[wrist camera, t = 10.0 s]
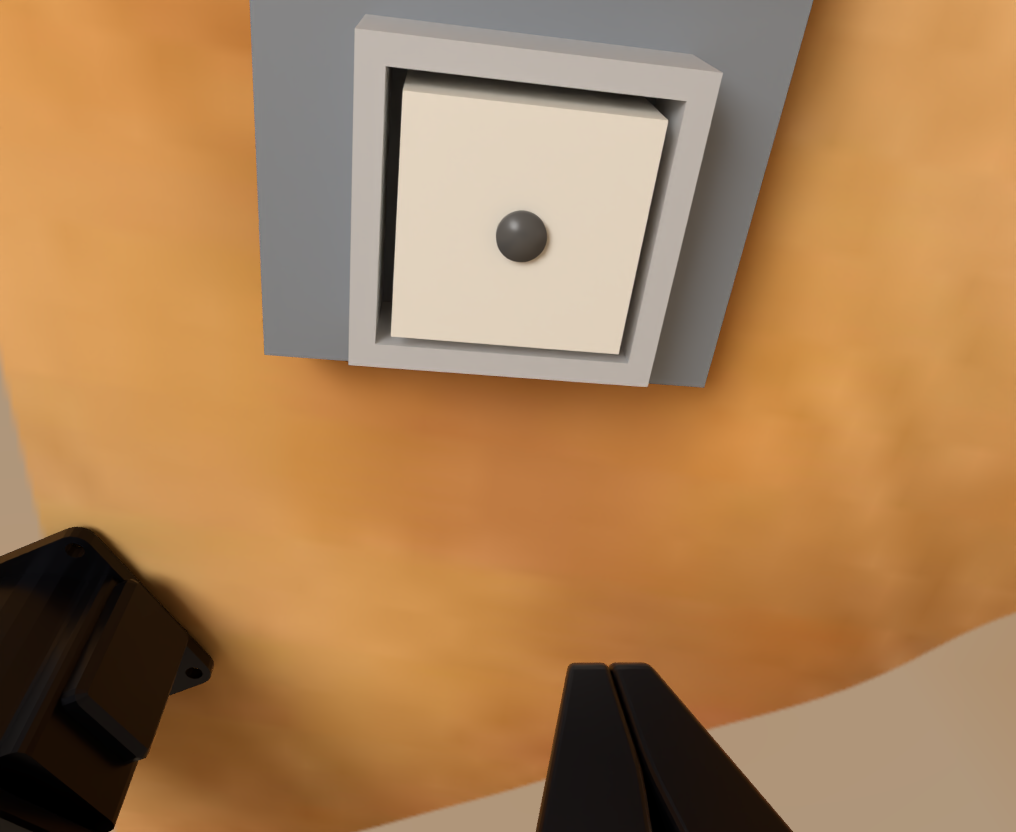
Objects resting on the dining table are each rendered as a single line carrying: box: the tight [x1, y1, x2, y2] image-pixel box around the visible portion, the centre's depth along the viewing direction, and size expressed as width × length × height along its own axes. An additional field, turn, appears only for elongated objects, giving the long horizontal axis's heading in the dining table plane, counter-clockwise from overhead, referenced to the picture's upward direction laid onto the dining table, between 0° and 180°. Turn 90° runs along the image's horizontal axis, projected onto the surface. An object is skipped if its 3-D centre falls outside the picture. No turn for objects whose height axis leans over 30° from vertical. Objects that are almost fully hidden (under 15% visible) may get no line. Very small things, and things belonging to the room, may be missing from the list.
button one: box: [391, 69, 668, 354], centre depth 15 cm, size 4×4×2 cm
